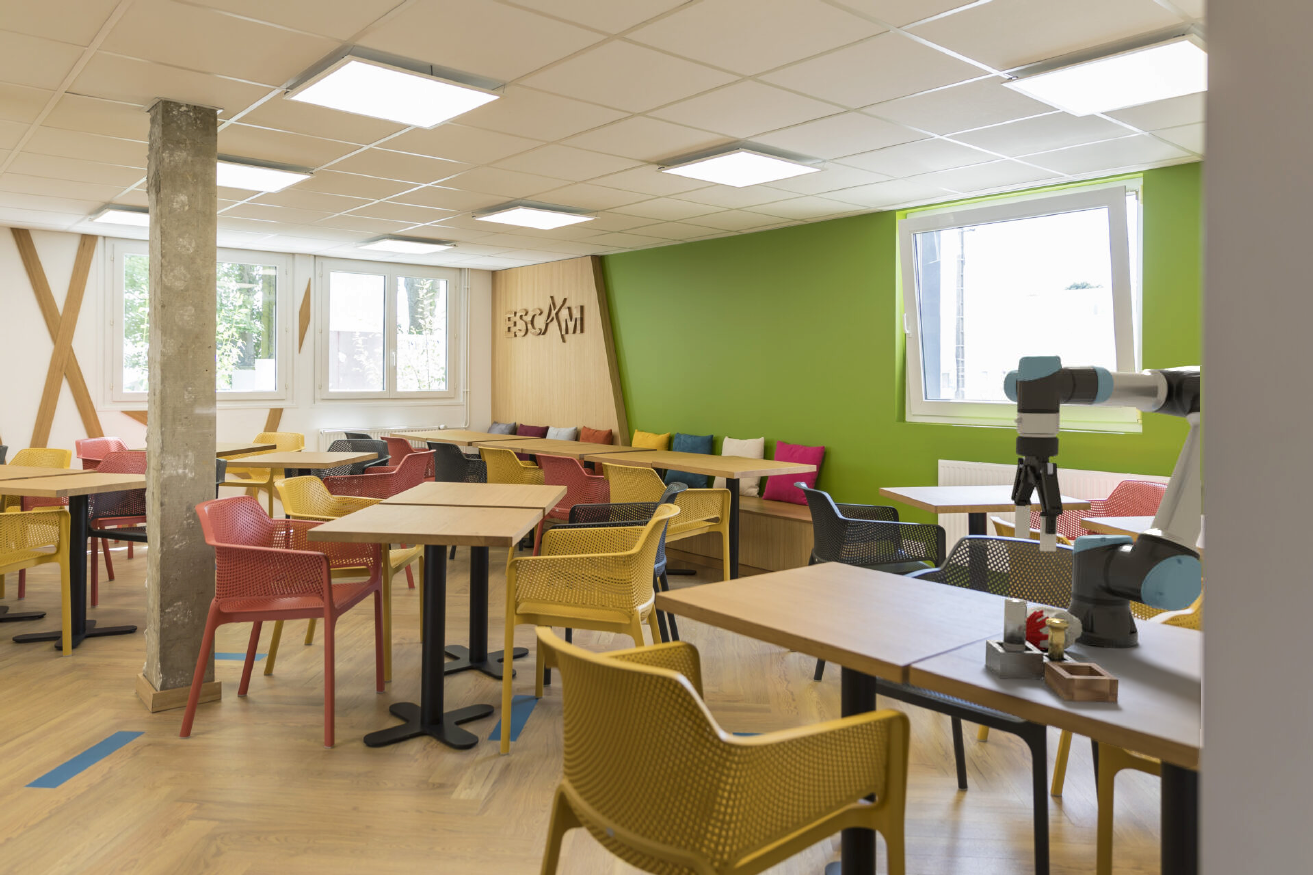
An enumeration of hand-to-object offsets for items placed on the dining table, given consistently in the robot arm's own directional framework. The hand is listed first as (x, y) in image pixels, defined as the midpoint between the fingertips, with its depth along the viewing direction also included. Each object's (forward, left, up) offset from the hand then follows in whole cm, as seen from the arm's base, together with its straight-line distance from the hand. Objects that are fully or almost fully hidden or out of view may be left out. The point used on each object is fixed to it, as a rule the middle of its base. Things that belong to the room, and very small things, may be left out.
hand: (1034, 544), depth 166 cm
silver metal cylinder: (+4, +2, -25) cm, 25 cm away
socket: (0, +2, -25) cm, 25 cm away
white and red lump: (-7, -14, -25) cm, 30 cm away
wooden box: (-4, +12, -25) cm, 28 cm away
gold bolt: (-4, +2, -22) cm, 22 cm away
